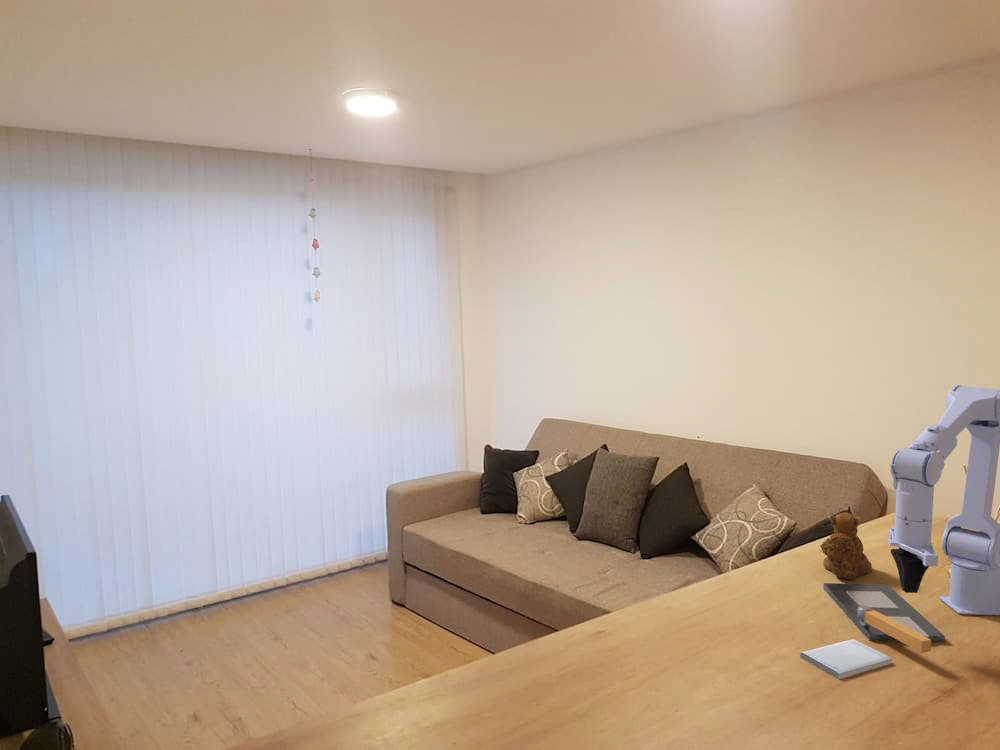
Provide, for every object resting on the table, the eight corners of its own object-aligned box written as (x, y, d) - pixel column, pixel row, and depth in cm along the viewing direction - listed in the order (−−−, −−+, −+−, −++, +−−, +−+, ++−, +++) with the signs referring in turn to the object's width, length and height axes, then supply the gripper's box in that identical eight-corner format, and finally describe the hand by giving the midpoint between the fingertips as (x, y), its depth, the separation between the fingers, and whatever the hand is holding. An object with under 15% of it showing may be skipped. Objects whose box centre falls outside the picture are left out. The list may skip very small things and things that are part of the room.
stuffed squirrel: (872, 567, 172) (875, 511, 171) (865, 588, 160) (868, 528, 159) (825, 559, 177) (827, 504, 176) (815, 579, 165) (817, 520, 164)
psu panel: (887, 590, 159) (887, 579, 159) (946, 643, 135) (946, 631, 135) (821, 588, 160) (822, 578, 160) (868, 641, 136) (869, 629, 136)
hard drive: (838, 673, 123) (892, 657, 128) (799, 651, 130) (851, 637, 135) (838, 682, 123) (891, 666, 128) (799, 660, 130) (851, 646, 136)
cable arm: (854, 617, 140) (854, 606, 140) (865, 615, 141) (866, 604, 141) (919, 653, 126) (920, 641, 126) (932, 650, 127) (932, 639, 127)
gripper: (873, 505, 141) (869, 575, 142) (908, 529, 126) (904, 607, 128) (912, 505, 140) (908, 576, 142) (952, 530, 126) (948, 608, 127)
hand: (909, 591), depth 135 cm, fingers closed
